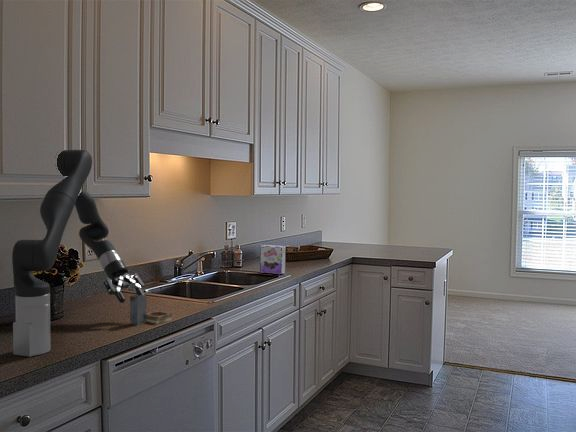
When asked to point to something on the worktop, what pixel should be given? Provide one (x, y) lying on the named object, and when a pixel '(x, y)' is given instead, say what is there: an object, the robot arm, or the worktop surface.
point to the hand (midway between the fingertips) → (133, 299)
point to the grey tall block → (137, 309)
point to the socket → (158, 317)
